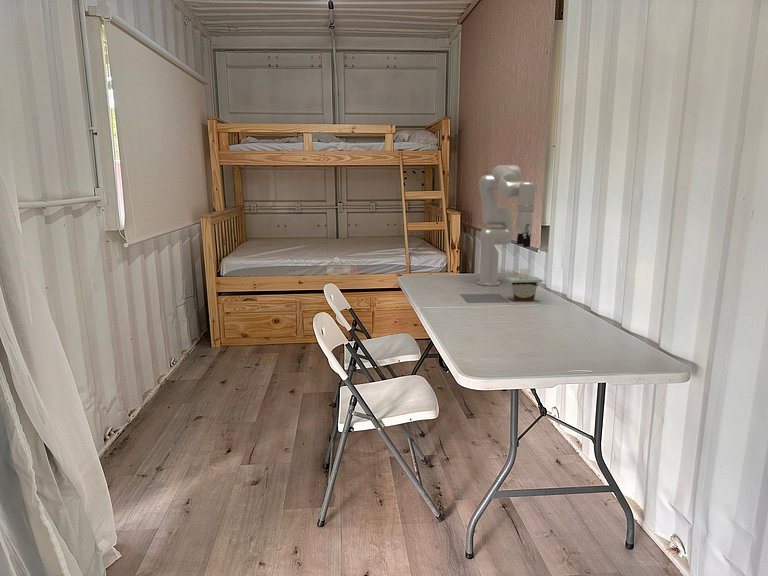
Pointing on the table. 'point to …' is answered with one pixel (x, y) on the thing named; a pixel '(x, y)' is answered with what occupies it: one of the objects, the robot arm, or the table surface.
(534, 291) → the food container
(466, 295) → the mat
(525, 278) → the lid
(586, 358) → the table surface
